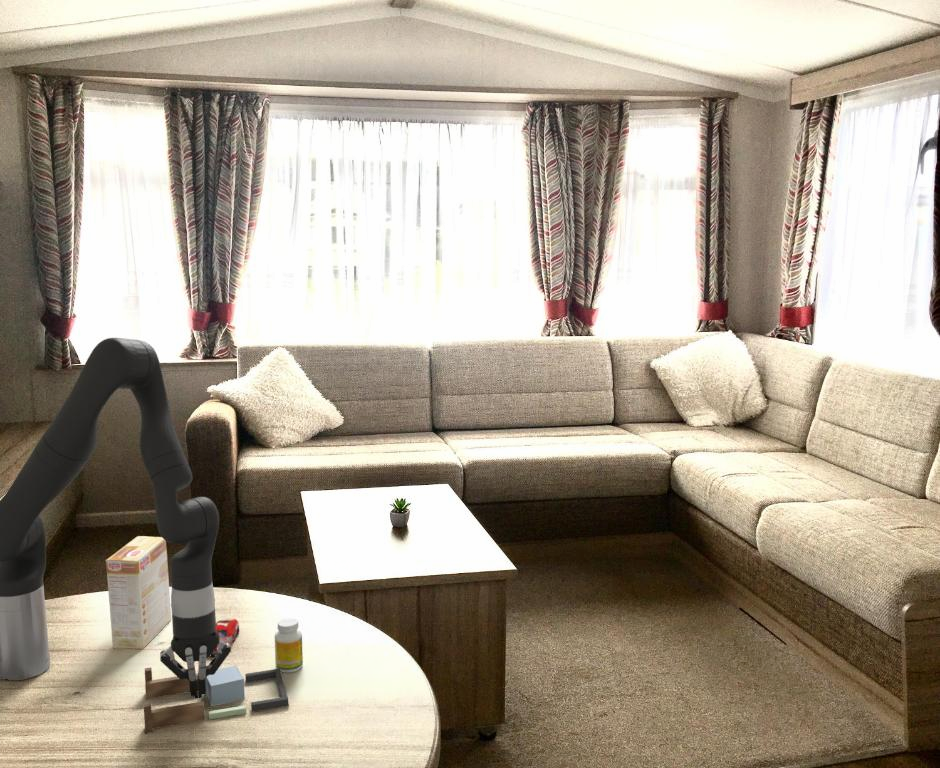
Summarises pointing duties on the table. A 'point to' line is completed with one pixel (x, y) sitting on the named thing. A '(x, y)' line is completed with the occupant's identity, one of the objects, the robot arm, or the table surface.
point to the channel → (173, 713)
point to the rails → (227, 712)
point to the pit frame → (271, 702)
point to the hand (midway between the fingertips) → (198, 696)
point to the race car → (227, 631)
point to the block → (225, 686)
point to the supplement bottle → (288, 646)
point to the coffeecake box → (138, 592)
